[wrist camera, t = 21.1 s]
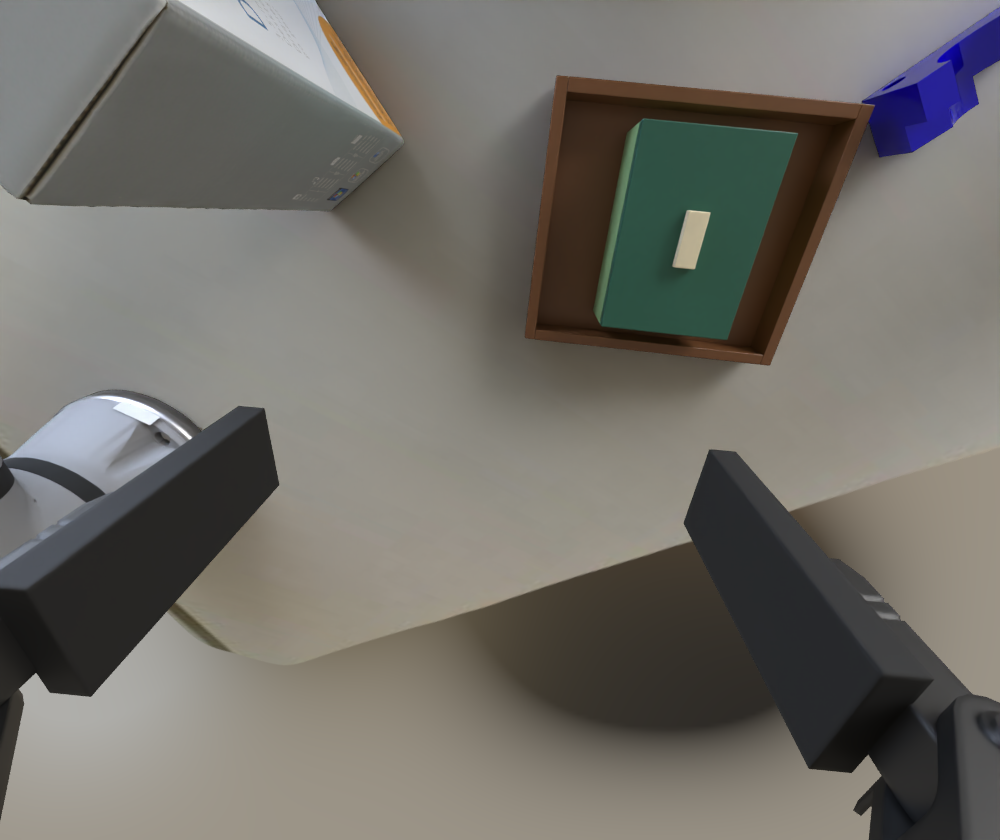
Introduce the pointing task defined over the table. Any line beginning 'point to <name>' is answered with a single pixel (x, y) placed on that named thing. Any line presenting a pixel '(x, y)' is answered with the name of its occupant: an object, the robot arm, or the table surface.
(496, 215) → the table surface
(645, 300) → the box
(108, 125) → the hard drive box
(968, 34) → the cable holder
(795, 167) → the tray
